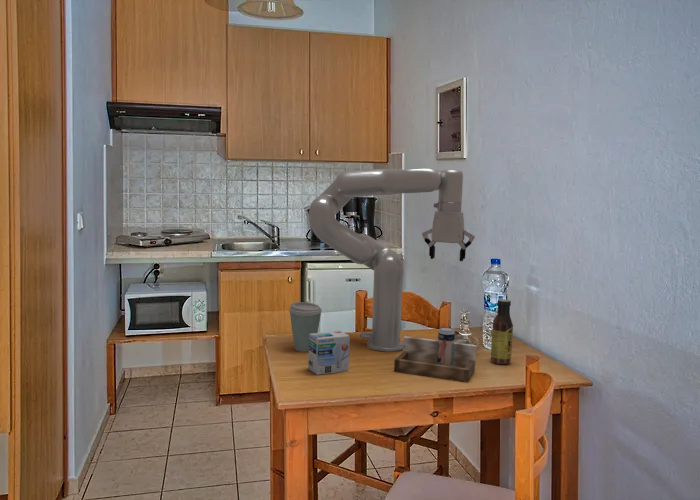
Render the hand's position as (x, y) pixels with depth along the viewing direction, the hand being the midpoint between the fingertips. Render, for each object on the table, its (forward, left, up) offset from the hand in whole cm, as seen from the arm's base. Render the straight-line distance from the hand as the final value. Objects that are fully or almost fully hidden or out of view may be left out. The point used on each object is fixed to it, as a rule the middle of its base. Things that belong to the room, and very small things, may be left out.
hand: (446, 259), depth 209 cm
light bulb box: (-26, -37, -31) cm, 55 cm away
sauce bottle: (+20, -6, -31) cm, 37 cm away
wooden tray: (+3, -24, -30) cm, 39 cm away
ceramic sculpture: (+5, -6, -31) cm, 32 cm away
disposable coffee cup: (-41, -21, -31) cm, 55 cm away
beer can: (+6, -24, -30) cm, 38 cm away
